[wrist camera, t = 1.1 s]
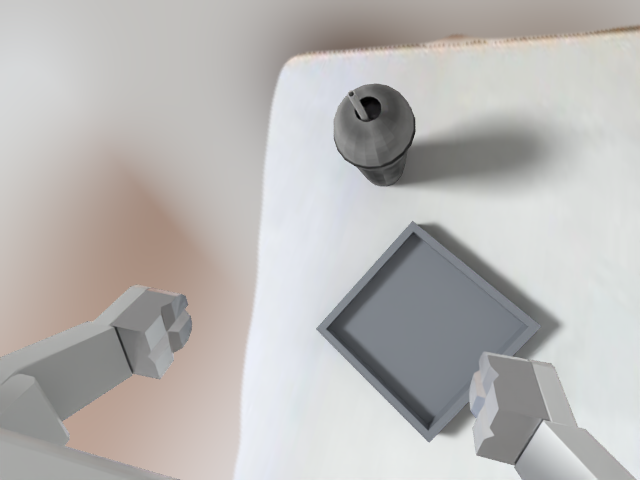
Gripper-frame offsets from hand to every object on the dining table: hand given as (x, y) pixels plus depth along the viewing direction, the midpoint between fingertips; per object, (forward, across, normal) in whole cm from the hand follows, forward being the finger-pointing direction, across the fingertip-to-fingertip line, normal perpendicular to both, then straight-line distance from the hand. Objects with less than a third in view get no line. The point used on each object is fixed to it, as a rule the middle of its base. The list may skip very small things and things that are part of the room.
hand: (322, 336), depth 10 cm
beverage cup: (+35, 0, +8) cm, 36 cm away
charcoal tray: (+24, -6, +22) cm, 33 cm away
